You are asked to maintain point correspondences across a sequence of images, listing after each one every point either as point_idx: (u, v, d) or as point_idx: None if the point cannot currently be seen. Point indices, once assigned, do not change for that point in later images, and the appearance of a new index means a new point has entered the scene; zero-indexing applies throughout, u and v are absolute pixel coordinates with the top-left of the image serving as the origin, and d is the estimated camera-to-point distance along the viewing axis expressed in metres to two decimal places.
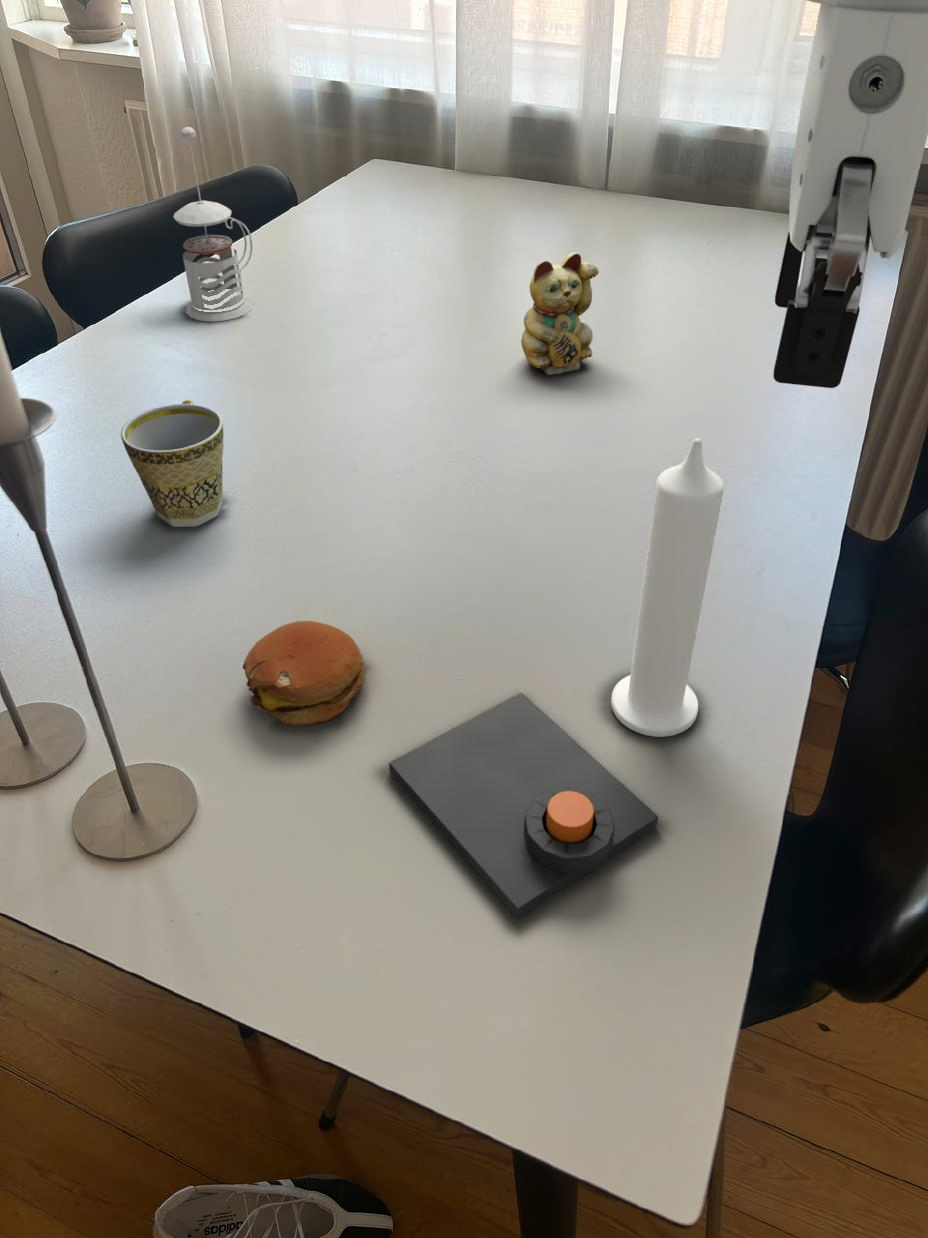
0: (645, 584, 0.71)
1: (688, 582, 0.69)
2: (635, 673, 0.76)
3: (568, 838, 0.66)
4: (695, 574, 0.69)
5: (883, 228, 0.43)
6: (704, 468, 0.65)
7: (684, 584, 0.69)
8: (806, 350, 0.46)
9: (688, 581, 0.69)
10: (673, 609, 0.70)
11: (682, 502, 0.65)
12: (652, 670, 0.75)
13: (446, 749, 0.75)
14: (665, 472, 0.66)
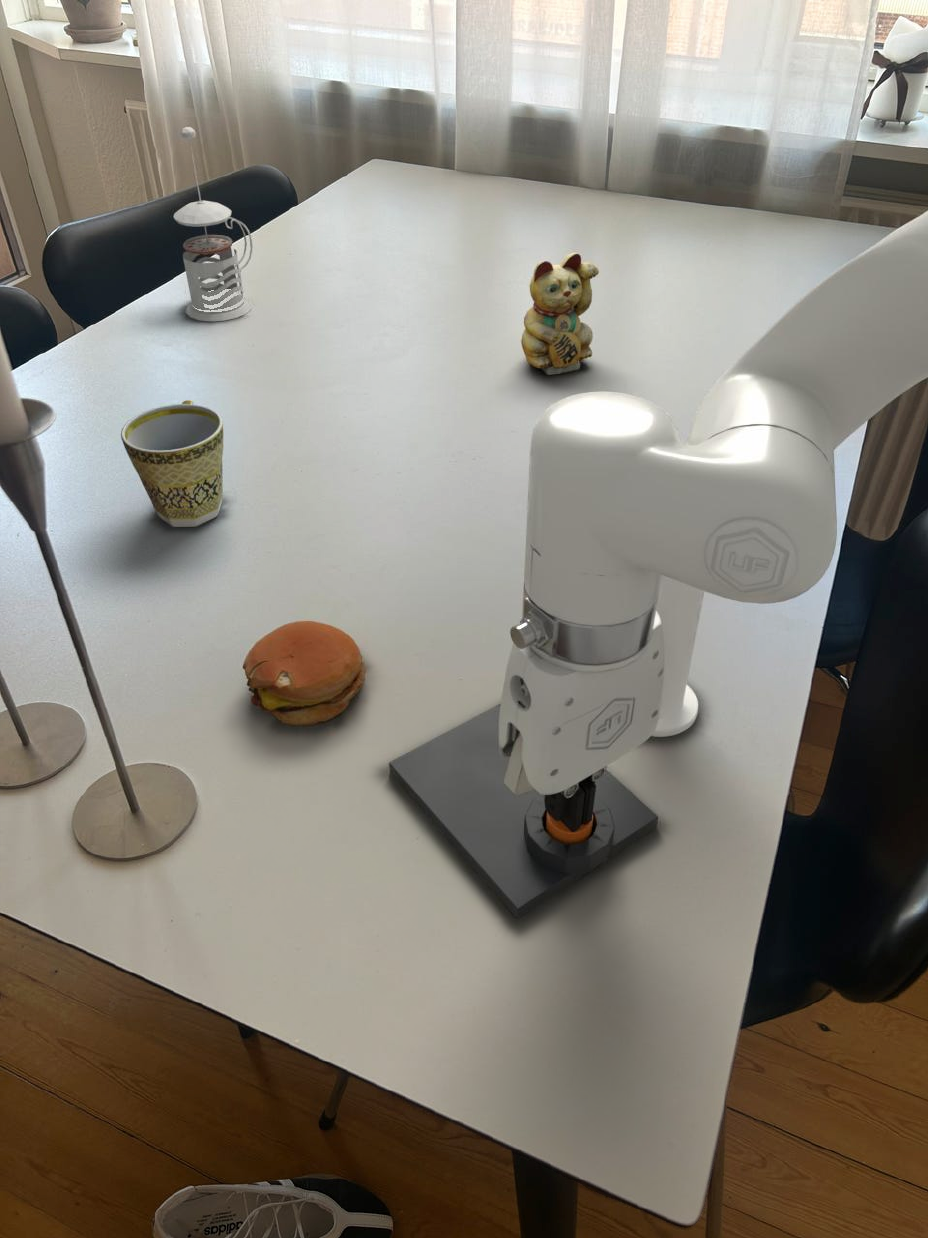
0: None
1: None
2: None
3: (567, 843, 0.66)
4: None
5: (531, 777, 0.58)
6: None
7: (684, 584, 0.69)
8: (548, 800, 0.65)
9: None
10: (673, 609, 0.70)
11: None
12: None
13: (446, 749, 0.75)
14: None
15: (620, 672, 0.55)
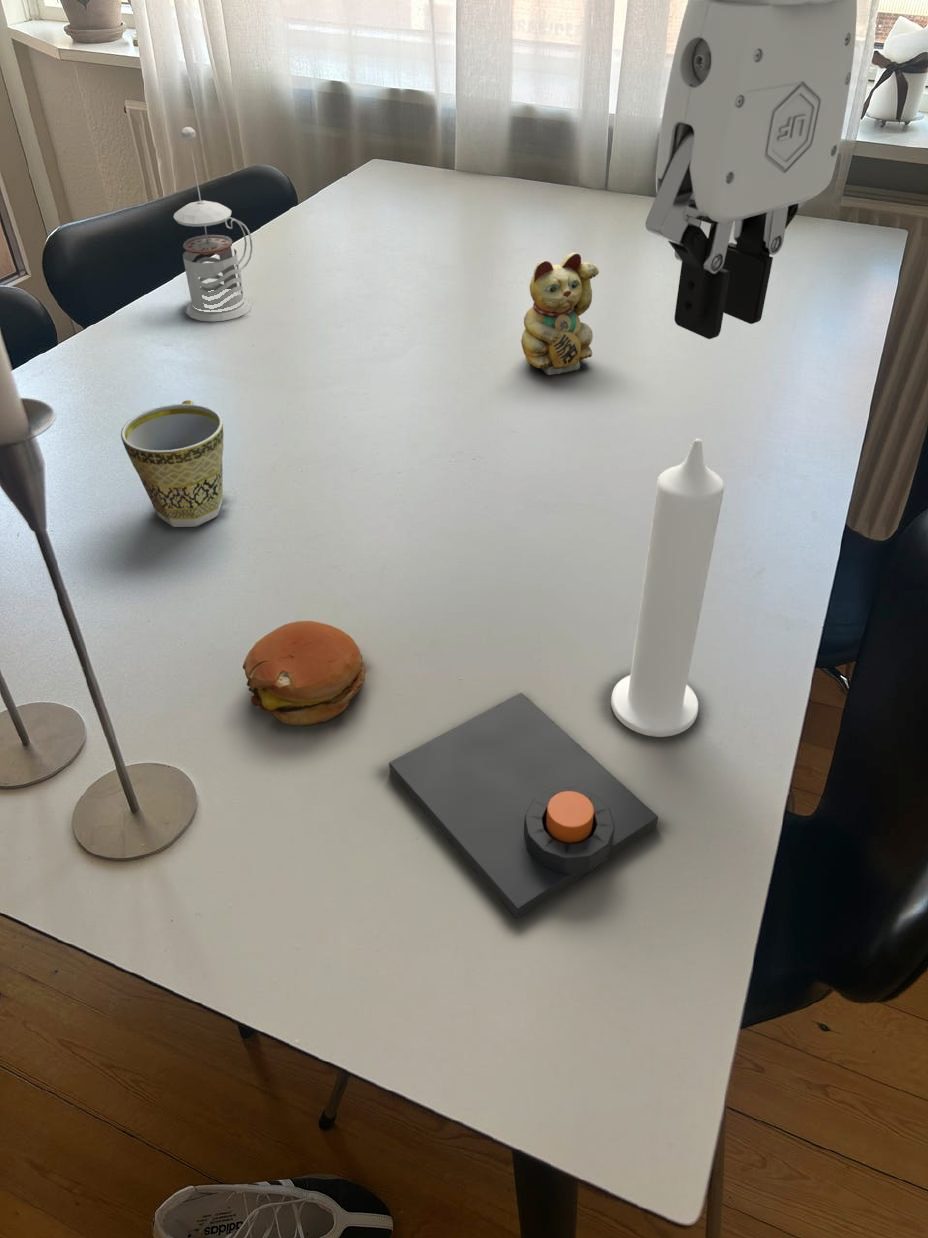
0: (645, 584, 0.71)
1: (688, 582, 0.69)
2: (635, 673, 0.76)
3: (568, 838, 0.66)
4: (695, 574, 0.69)
5: (700, 190, 0.50)
6: (704, 468, 0.65)
7: (684, 584, 0.69)
8: (684, 297, 0.56)
9: (688, 581, 0.69)
10: (673, 609, 0.70)
11: (683, 502, 0.65)
12: (652, 670, 0.75)
13: (446, 749, 0.75)
14: (665, 472, 0.66)
15: (813, 36, 0.47)
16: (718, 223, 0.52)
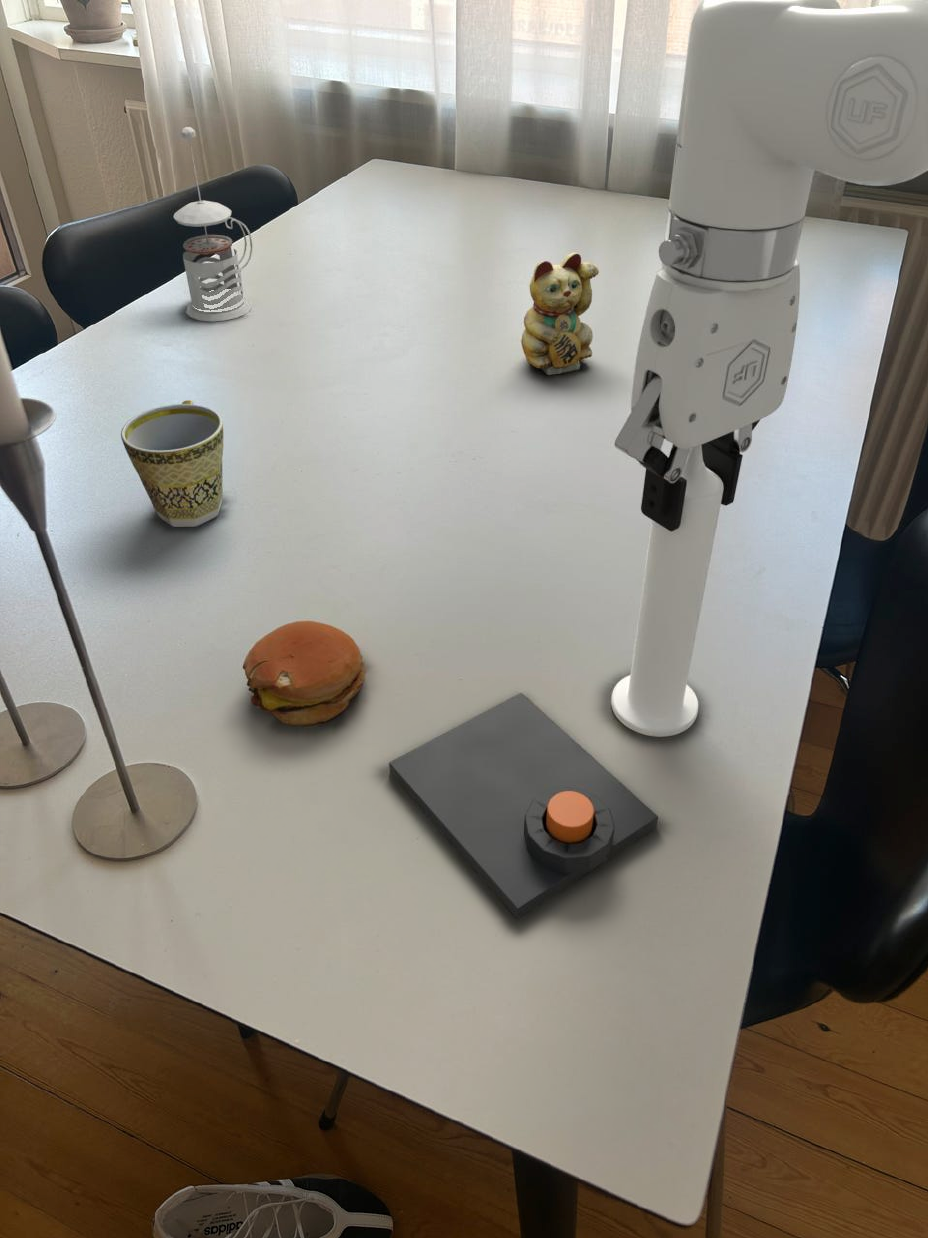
0: (645, 584, 0.71)
1: (688, 582, 0.69)
2: (635, 673, 0.76)
3: (568, 838, 0.66)
4: (695, 574, 0.69)
5: (668, 426, 0.58)
6: (704, 468, 0.65)
7: (684, 584, 0.69)
8: (648, 497, 0.65)
9: (688, 581, 0.69)
10: (673, 609, 0.70)
11: None
12: (652, 670, 0.75)
13: (446, 749, 0.75)
14: None
15: (761, 306, 0.56)
16: None
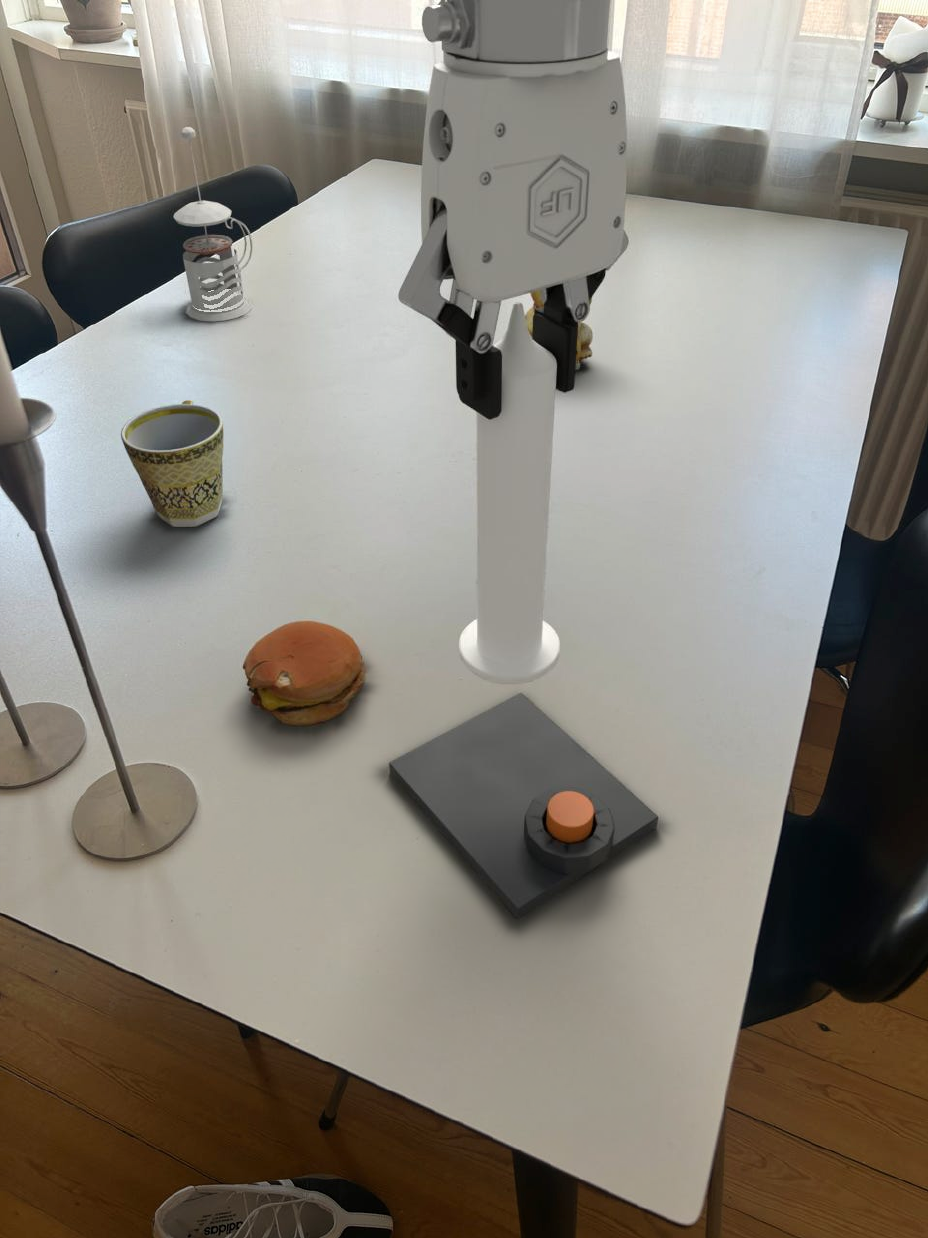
0: (477, 494, 0.59)
1: (522, 488, 0.57)
2: (479, 607, 0.64)
3: (568, 838, 0.66)
4: (530, 478, 0.56)
5: (459, 269, 0.46)
6: (529, 341, 0.53)
7: (517, 491, 0.57)
8: (460, 376, 0.52)
9: (522, 487, 0.56)
10: (508, 523, 0.58)
11: (502, 382, 0.52)
12: (494, 602, 0.62)
13: (446, 749, 0.75)
14: None
15: (567, 107, 0.44)
16: None
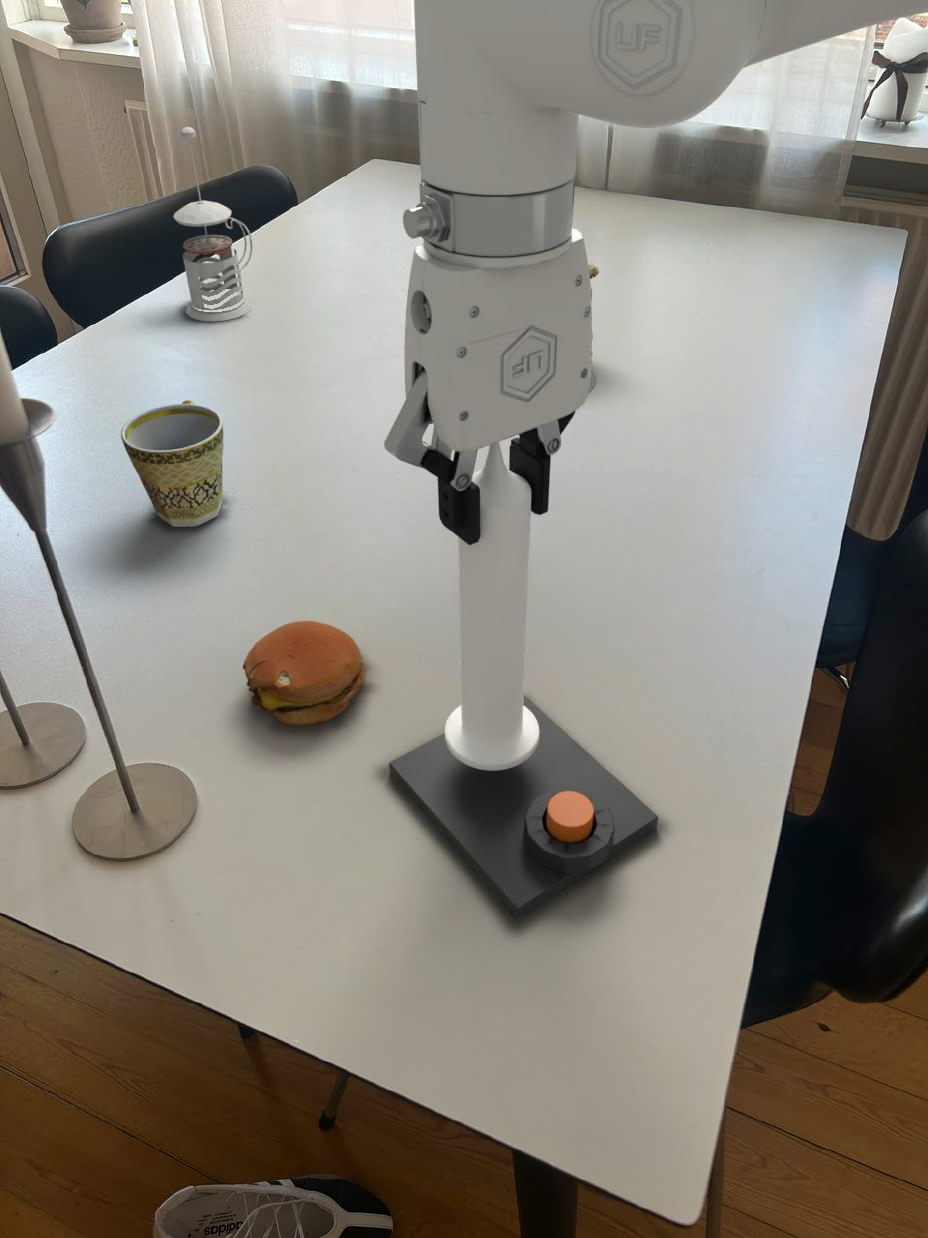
0: (459, 603, 0.64)
1: (501, 601, 0.61)
2: (463, 700, 0.69)
3: (568, 838, 0.66)
4: (508, 592, 0.61)
5: (439, 425, 0.51)
6: (506, 473, 0.57)
7: (496, 603, 0.61)
8: (442, 506, 0.57)
9: (500, 600, 0.61)
10: (489, 631, 0.63)
11: (480, 512, 0.57)
12: (477, 697, 0.67)
13: (446, 749, 0.75)
14: None
15: (535, 287, 0.48)
16: None
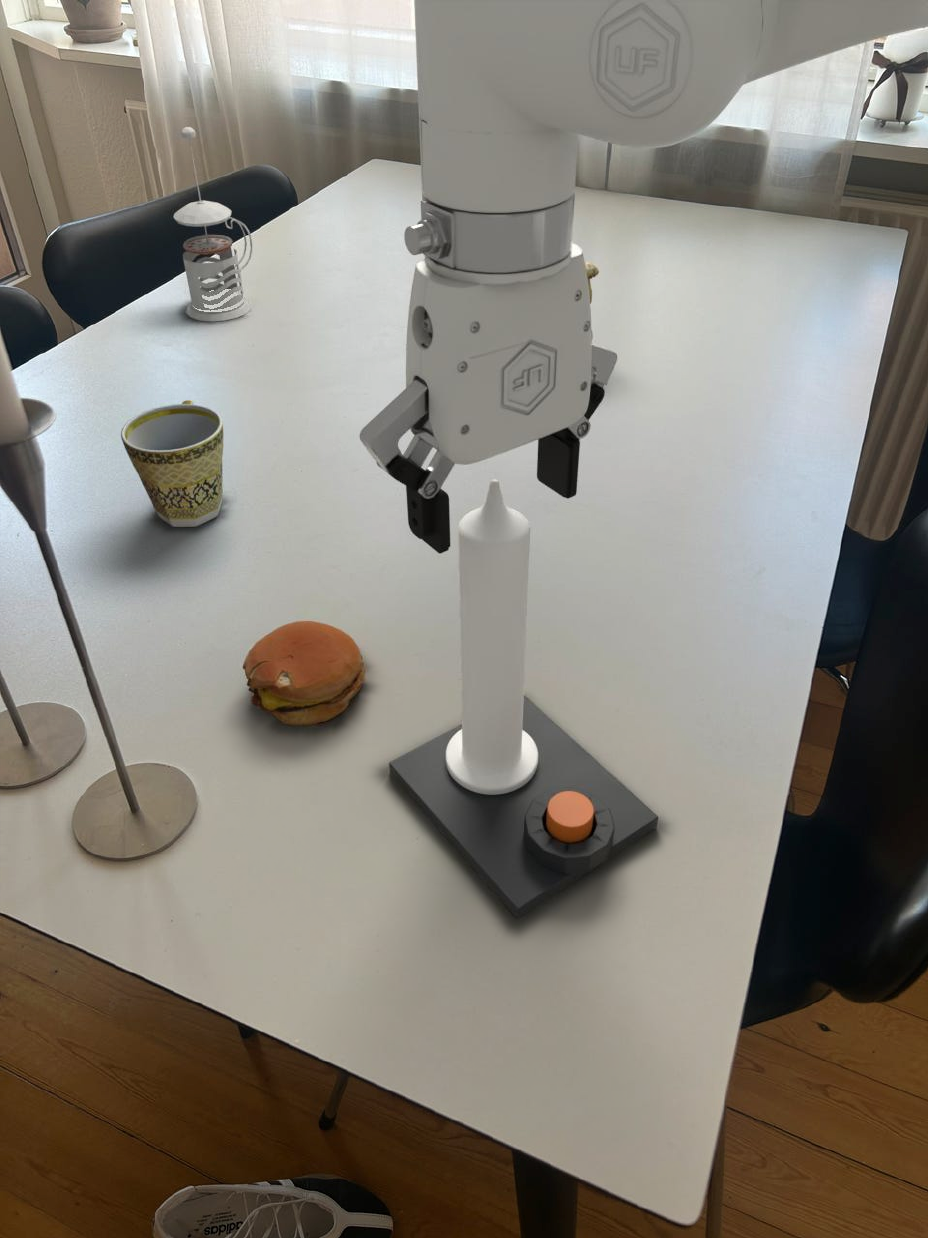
0: (460, 634, 0.65)
1: (500, 633, 0.63)
2: (463, 726, 0.70)
3: (568, 838, 0.66)
4: (507, 625, 0.63)
5: (440, 439, 0.51)
6: (505, 511, 0.59)
7: (496, 635, 0.63)
8: (411, 514, 0.56)
9: (500, 632, 0.63)
10: (488, 661, 0.64)
11: (481, 549, 0.59)
12: (477, 724, 0.69)
13: None
14: (467, 515, 0.61)
15: (535, 302, 0.49)
16: None
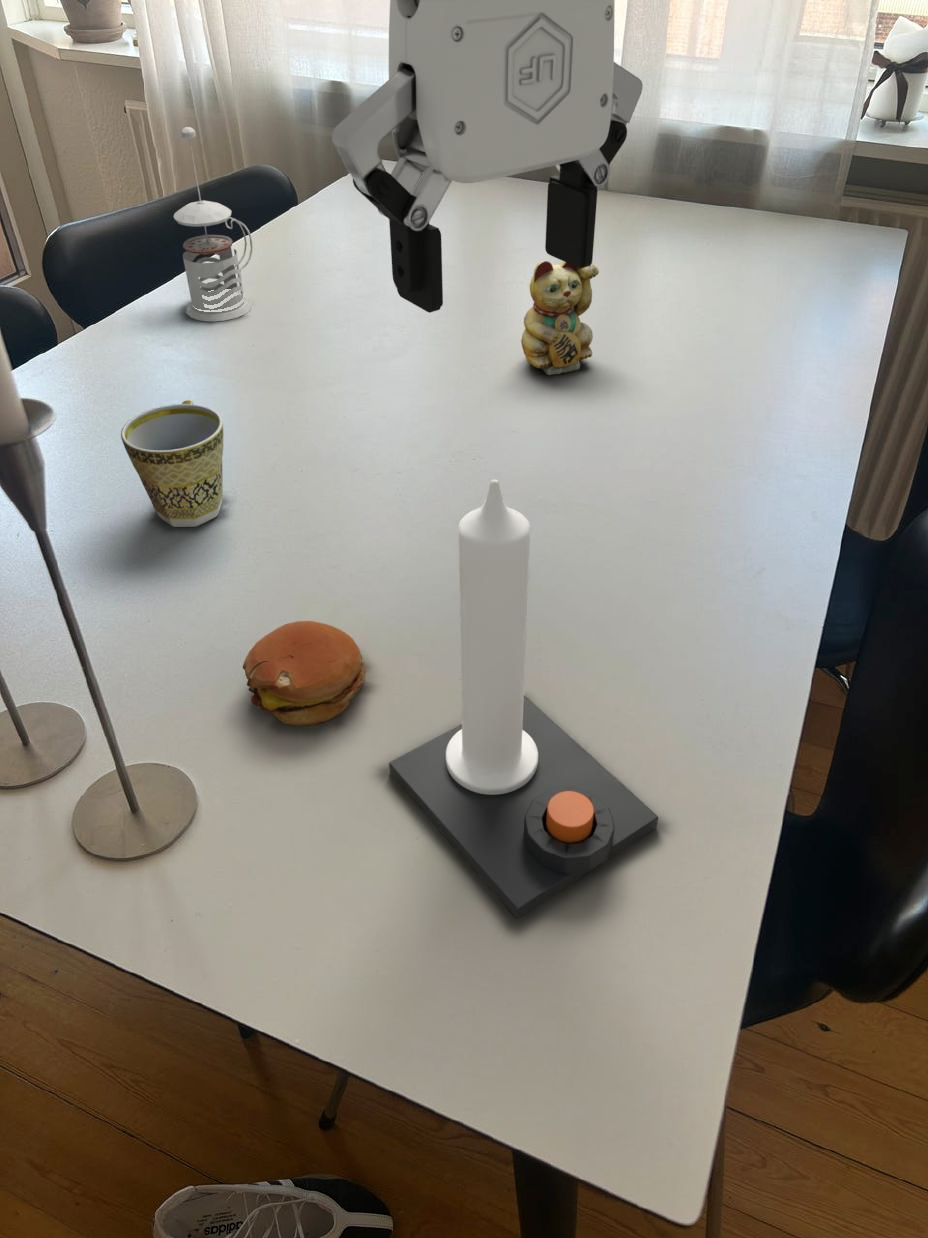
0: (460, 634, 0.65)
1: (500, 633, 0.63)
2: (463, 726, 0.70)
3: (568, 838, 0.66)
4: (507, 625, 0.63)
5: (430, 143, 0.42)
6: (505, 511, 0.59)
7: (496, 635, 0.63)
8: (395, 262, 0.47)
9: (500, 632, 0.63)
10: (488, 662, 0.64)
11: (481, 549, 0.59)
12: (477, 724, 0.69)
13: None
14: (467, 515, 0.60)
15: None
16: None
